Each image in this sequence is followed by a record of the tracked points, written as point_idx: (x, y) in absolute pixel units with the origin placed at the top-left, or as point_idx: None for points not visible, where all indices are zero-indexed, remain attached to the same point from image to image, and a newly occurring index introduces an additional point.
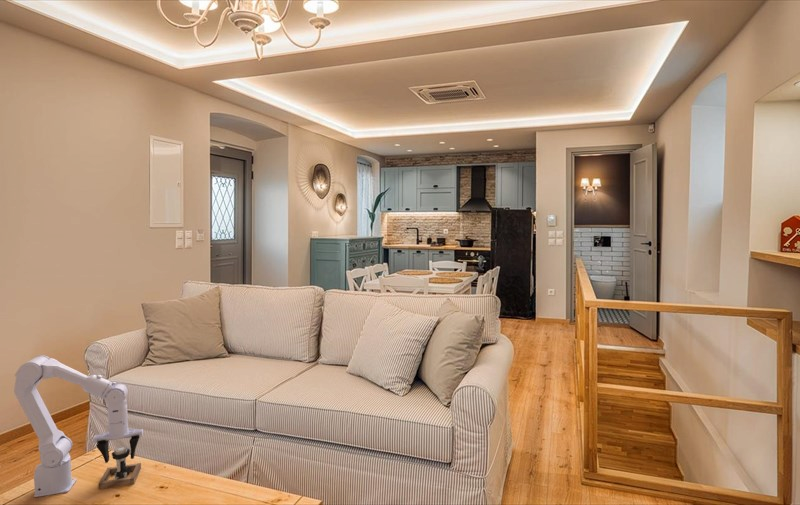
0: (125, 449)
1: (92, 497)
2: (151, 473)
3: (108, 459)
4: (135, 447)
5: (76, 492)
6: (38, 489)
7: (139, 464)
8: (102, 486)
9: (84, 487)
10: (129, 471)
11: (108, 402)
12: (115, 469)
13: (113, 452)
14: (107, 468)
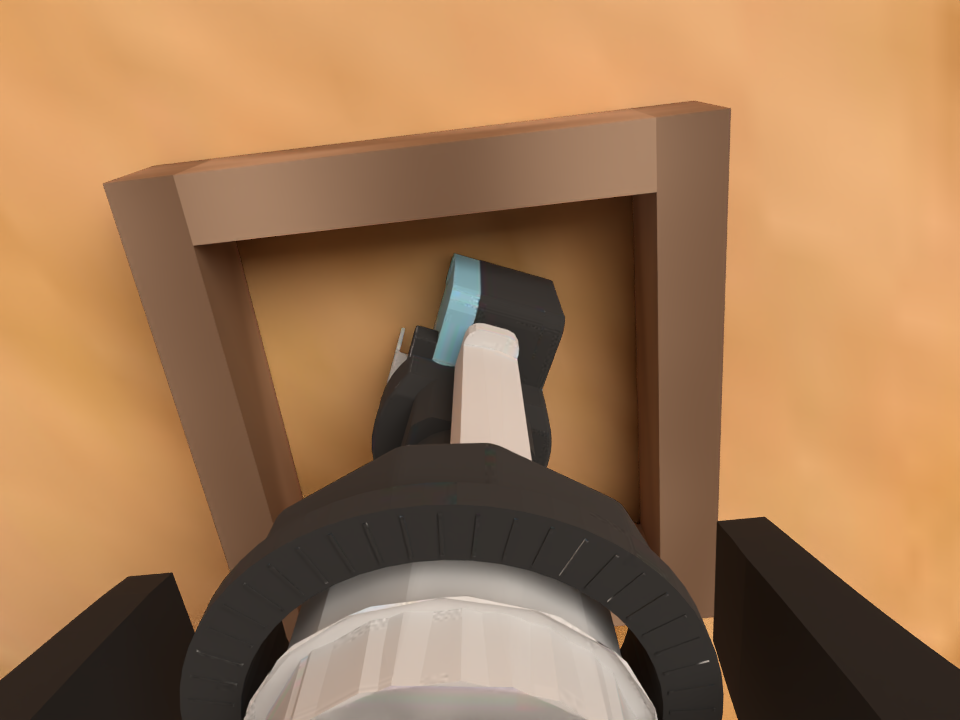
0: None
1: None
2: (886, 327)
3: (173, 639)
4: (950, 704)
5: (31, 599)
6: None
7: (715, 179)
8: None
9: (53, 511)
10: (555, 297)
11: None
12: (288, 229)
13: (211, 709)
14: (123, 214)
